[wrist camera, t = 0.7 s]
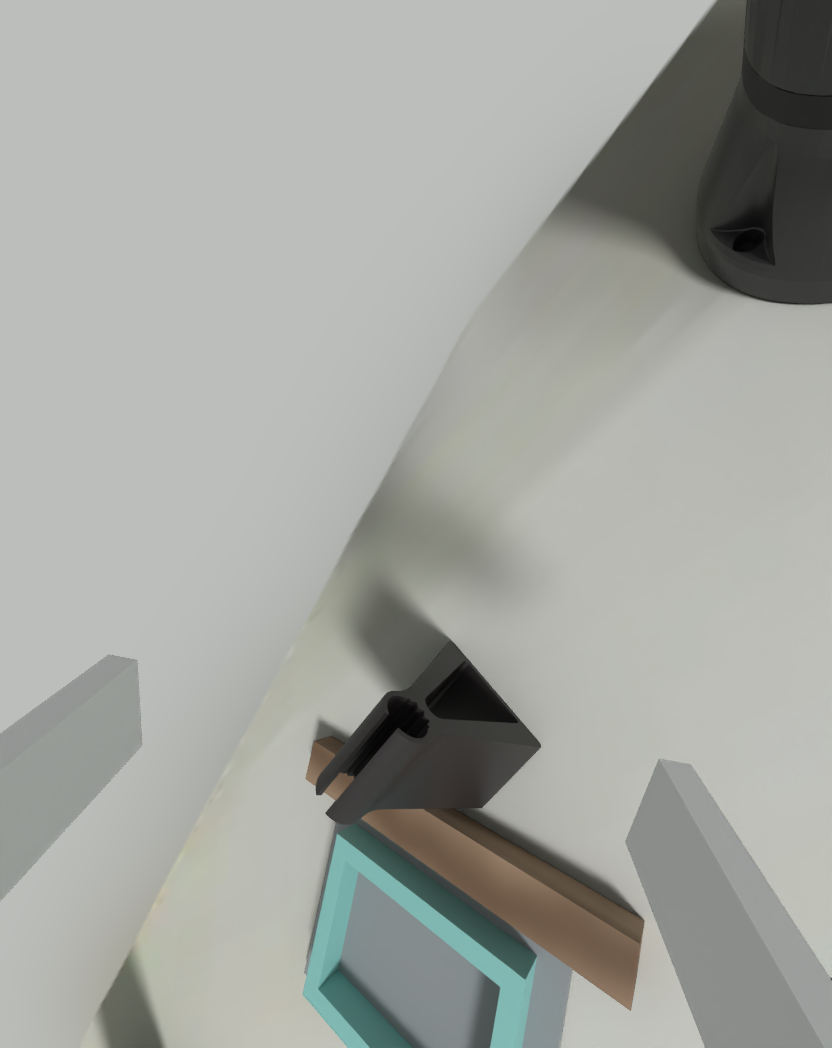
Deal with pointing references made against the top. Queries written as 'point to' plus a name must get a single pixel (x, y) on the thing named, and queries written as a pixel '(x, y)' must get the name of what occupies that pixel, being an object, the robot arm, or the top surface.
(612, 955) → the strip
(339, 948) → the cradle
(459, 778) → the phone stand
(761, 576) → the top surface
